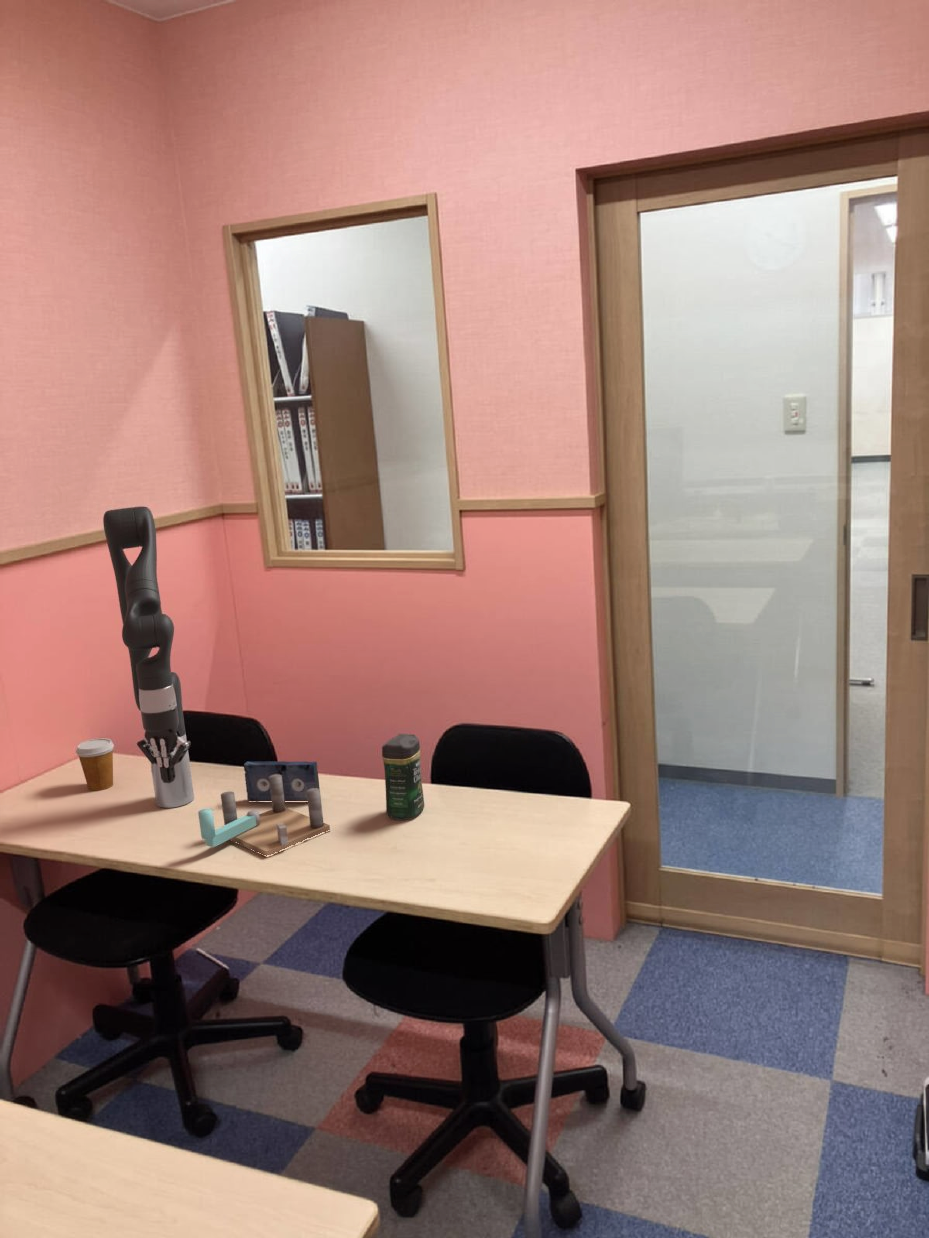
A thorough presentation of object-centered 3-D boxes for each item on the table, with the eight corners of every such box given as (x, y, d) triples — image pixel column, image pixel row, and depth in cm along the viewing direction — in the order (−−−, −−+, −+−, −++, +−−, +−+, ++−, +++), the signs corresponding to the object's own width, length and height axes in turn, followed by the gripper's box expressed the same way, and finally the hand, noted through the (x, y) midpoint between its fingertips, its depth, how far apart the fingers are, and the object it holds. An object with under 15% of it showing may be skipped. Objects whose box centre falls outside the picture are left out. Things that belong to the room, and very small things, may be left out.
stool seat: (220, 835, 230) (215, 794, 228) (281, 811, 242) (277, 772, 240) (269, 858, 216) (264, 815, 214) (332, 831, 228) (327, 790, 226)
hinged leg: (254, 820, 233) (250, 787, 231) (263, 822, 231) (259, 789, 230) (199, 847, 220) (195, 812, 218) (209, 850, 218) (204, 815, 217)
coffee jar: (414, 822, 230) (407, 745, 226) (382, 819, 233) (375, 743, 229) (429, 805, 239) (423, 731, 235) (399, 803, 242) (392, 730, 238)
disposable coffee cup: (93, 780, 273) (86, 738, 270) (125, 779, 271) (119, 737, 269) (75, 793, 264) (68, 750, 261) (109, 793, 262) (102, 749, 260)
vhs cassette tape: (321, 799, 248) (317, 760, 246) (317, 803, 245) (313, 765, 243) (252, 797, 252) (247, 760, 250) (247, 802, 249) (242, 764, 247)
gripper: (122, 710, 216) (133, 786, 219) (173, 712, 211) (184, 790, 215) (144, 700, 222) (154, 773, 226) (194, 702, 218) (204, 777, 221)
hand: (169, 781), depth 220 cm, fingers closed
